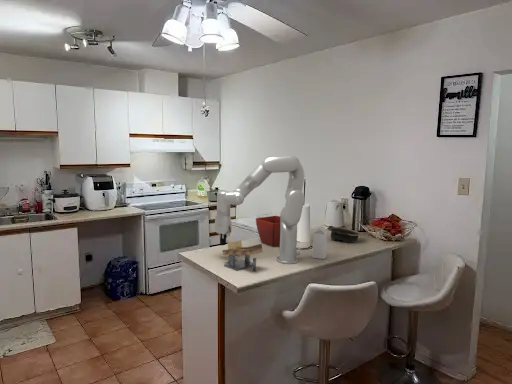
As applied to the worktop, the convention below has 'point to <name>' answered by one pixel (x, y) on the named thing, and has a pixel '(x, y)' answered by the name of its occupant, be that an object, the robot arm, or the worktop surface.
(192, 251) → the worktop surface
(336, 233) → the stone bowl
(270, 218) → the plant pot
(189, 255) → the worktop surface
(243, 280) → the worktop surface
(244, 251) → the board
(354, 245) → the worktop surface
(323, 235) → the milk carton
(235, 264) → the pivot stand
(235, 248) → the block
